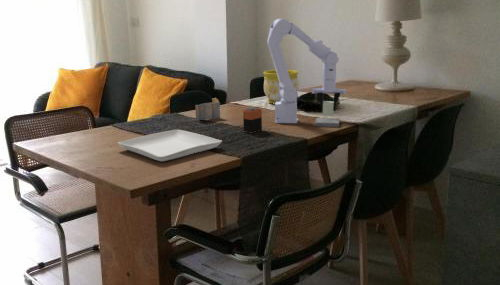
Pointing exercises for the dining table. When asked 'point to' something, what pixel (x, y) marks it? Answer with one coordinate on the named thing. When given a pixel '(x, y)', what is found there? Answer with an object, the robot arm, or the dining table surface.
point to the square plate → (170, 144)
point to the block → (328, 107)
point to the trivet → (327, 122)
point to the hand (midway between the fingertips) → (328, 109)
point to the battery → (252, 119)
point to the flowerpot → (276, 84)
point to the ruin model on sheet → (208, 110)
